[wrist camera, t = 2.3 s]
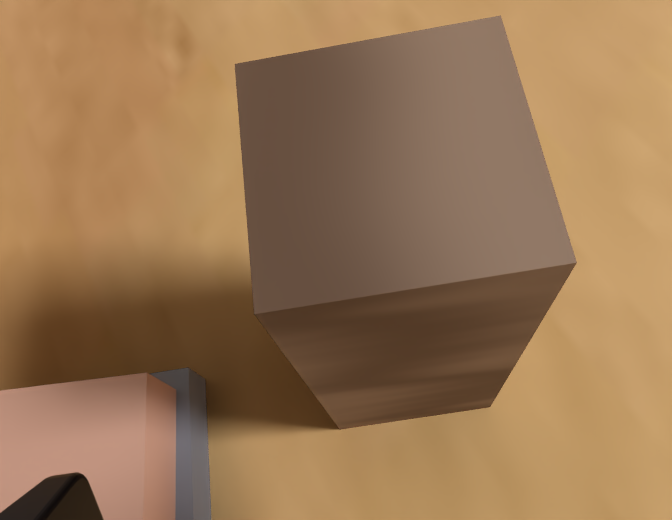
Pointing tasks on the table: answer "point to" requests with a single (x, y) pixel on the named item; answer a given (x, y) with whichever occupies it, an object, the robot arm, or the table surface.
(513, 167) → the walnut pillar
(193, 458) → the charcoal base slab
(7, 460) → the terracotta top slab
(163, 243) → the table surface
